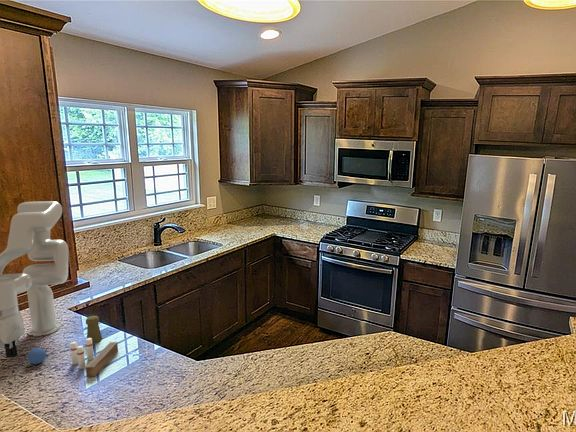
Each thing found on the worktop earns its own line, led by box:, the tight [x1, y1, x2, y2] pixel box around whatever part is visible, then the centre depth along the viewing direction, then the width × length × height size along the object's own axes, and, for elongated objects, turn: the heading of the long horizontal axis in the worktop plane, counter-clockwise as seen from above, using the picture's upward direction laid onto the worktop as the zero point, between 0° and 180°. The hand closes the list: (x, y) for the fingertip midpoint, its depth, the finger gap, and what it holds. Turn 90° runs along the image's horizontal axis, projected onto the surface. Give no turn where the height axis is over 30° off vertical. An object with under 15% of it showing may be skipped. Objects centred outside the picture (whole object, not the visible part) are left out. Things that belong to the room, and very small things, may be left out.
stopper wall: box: [85, 341, 119, 378], centre depth 143 cm, size 3×18×4 cm, turn 179°
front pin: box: [69, 341, 78, 366], centre depth 143 cm, size 2×2×8 cm
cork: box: [85, 315, 103, 345], centre depth 160 cm, size 6×6×11 cm
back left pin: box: [85, 337, 95, 362], centre depth 146 cm, size 2×2×8 cm
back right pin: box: [77, 345, 86, 370], centre depth 140 cm, size 2×2×8 cm
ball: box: [27, 347, 47, 365], centre depth 143 cm, size 6×6×6 cm
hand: (11, 356), depth 143 cm, fingers closed
